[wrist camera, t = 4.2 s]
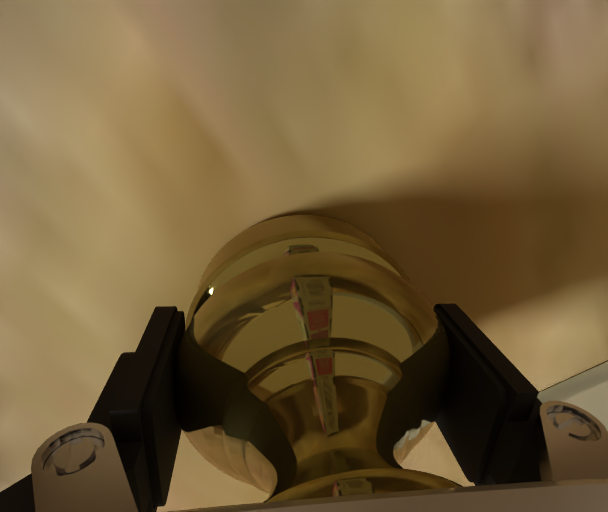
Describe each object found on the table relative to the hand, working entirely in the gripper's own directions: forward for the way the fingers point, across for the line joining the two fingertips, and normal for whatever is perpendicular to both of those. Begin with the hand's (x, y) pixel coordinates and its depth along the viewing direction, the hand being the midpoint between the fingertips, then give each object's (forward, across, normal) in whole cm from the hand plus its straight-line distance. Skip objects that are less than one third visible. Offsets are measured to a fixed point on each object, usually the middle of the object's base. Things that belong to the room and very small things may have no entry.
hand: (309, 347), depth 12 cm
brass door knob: (+3, 0, 0) cm, 3 cm away
